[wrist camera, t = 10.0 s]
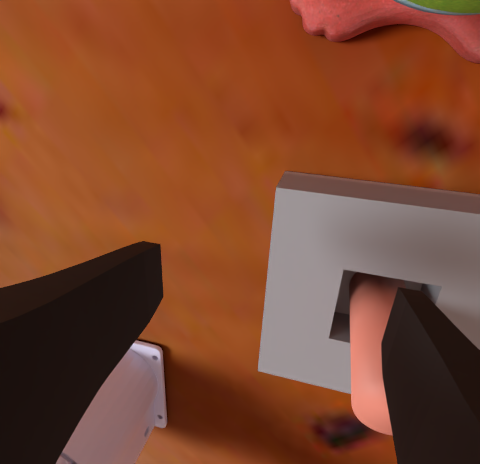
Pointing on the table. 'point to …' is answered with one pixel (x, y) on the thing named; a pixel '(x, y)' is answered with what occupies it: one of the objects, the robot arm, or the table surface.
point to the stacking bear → (395, 19)
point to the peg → (370, 346)
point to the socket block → (360, 265)
